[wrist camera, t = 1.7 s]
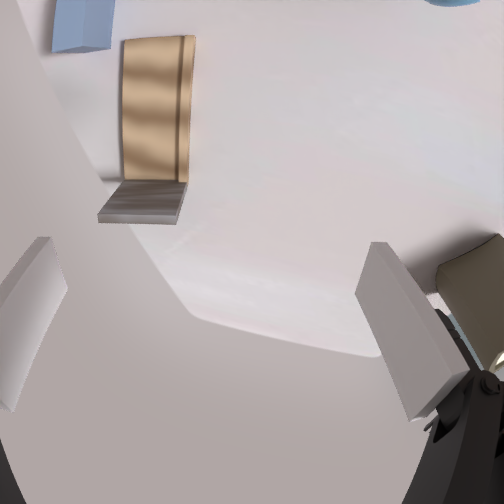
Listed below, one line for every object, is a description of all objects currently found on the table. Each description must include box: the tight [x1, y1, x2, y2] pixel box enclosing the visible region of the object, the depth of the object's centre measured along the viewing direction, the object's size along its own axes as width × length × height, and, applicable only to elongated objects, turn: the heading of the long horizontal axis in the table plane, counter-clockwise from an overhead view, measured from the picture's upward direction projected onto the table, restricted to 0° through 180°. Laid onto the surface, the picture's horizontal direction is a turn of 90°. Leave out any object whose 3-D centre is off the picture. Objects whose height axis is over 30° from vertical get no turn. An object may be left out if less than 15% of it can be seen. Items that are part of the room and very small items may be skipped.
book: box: [436, 234, 504, 373], centre depth 50 cm, size 22×9×28 cm, turn 114°
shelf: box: [97, 35, 196, 225], centre depth 34 cm, size 23×10×14 cm, turn 175°
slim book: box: [52, 0, 115, 53], centre depth 26 cm, size 11×4×10 cm, turn 174°
